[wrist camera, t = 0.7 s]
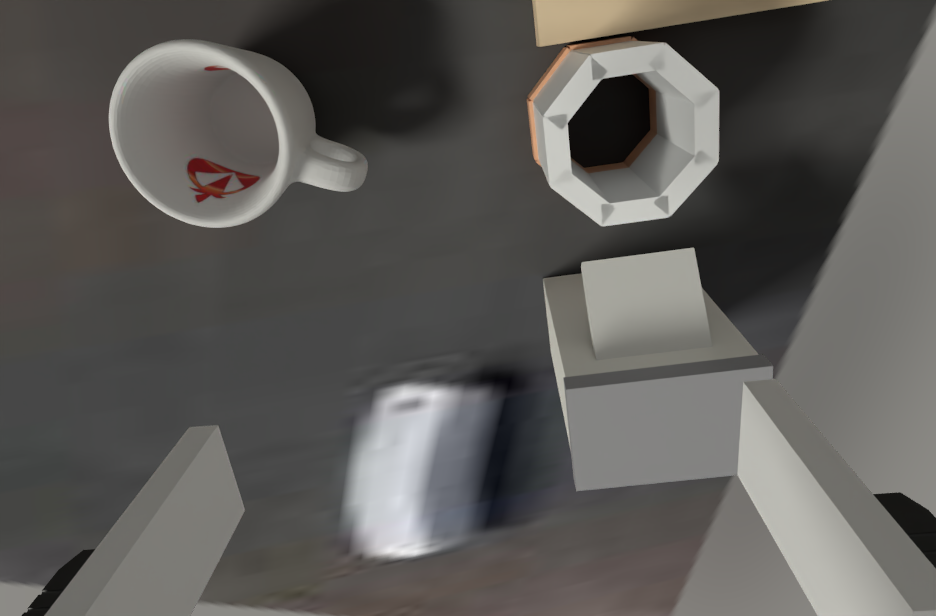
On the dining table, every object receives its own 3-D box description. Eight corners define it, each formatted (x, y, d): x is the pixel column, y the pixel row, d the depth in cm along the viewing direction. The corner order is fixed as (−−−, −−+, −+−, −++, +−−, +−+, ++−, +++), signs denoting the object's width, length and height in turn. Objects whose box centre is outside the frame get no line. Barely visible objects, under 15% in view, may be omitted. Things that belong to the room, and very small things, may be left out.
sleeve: (521, 52, 33) (531, 58, 25) (670, 28, 32) (725, 27, 25) (537, 195, 36) (550, 237, 28) (673, 176, 35) (723, 214, 28)
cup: (400, 87, 34) (376, 102, 26) (361, 224, 37) (330, 272, 29) (200, 14, 32) (116, 9, 25) (177, 162, 36) (96, 196, 28)
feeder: (534, 218, 36) (557, 309, 24) (679, 199, 36) (776, 282, 24) (549, 353, 40) (576, 491, 28) (682, 337, 39) (768, 471, 27)
